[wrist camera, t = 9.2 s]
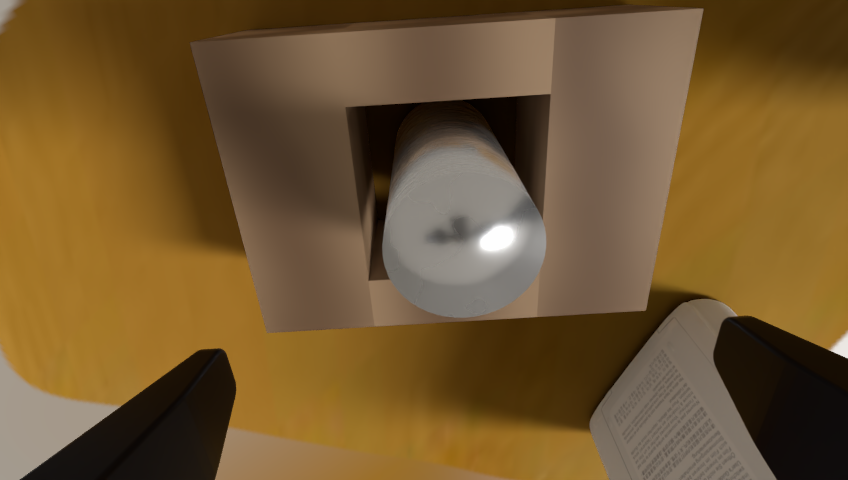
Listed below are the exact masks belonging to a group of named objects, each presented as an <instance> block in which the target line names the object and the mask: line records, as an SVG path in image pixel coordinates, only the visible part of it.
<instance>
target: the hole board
mask: <svg viewBox="0 0 848 480" xmlns="http://www.w3.org/2000/svg"><path fill="white" fill-rule="evenodd" d="M703 10H704V8H687V7H667V6H646V5H617V6H602V7H587V8H572V9H557V10H542V11H527V12H511V13H496V14H481V15H466V16H451V17H436V18H421V19H406V20H391V21H376V22H361V23H346V24H331V25H316V26H301V27H286V28H271V29H256V30H245V31H240V32H236V33H231V34H226V35H222V36H217V37H212V38H208V39H203V40H198V41H194V42H190V46H191V49H192V53H193V57H194V61H195V64H196V68H197V72H198V76H199V79H200V83H201V87H202V91H203V94H204V98H205V102H206V106H207V109H208V113H209V117H210V121H211V124H212V128H213V132H214V136H215V139H216V143H217V147H218V151H219V154H220V158H221V162H222V166H223V169H224V173H225V177H226V181H227V184H228V188H229V192H230V196H231V199H232V203H233V207H234V211H235V214H236V218H237V222H238V226H239V229H240V233H241V237H242V241H243V244H244V248H245V252H246V256H247V259H248V263H249V267H250V271H251V274H252V278H253V282H254V286H255V289H256V293H257V297H258V301H259V304H260V308H261V312H262V316H263V319H264V323H265V327H266V331H267V333H274V332H291V331H308V330H325V329H342V328H359V327H376V326H393V325H410V324H427V323H444V322H461V321H478V320H495V319H512V318H528V317H545V316H562V315H579V314H596V313H613V312H630V311H646V307H647V302H648V297H649V291H650V286H651V281H652V276H653V271H654V265H655V260H656V255H657V250H658V244H659V239H660V234H661V229H662V224H663V218H664V213H665V208H666V203H667V197H668V192H669V187H670V182H671V177H672V171H673V166H674V161H675V156H676V150H677V145H678V140H679V135H680V130H681V124H682V119H683V114H684V109H685V104H686V98H687V93H688V88H689V83H690V77H691V72H692V67H693V62H694V57H695V51H696V46H697V41H698V36H699V30H700V25H701V20H702V15H703ZM511 96H517V105H516V138H515V171H516V173H517V175H518V177H519V178H520V180H521V182H522V184H523V185H524V187H525V189H526V190H527V192H528V194H529V196H530V197H531V199H532V201H533V203H534V204H535V206H536V208H537V210H538V212H539V213H540V215H541V217H542V220H543V223H544V227H545V232H546V251H545V257H544V260H543V264H542V266H541V269H540V271H539V273H538V275H537V276H536V278H535V280H534V281H533V283H532V284H531V285H530V286H529V288H528V289H527V290H526V291H525V292H524V293H523V294H522V295H521V296H519V297H518V298H517V299H516V300H514V301H513V302H511V303H510V304H508V305H506V306H505V307H503V308H501V309H499V310H496V311H494V312H491V313H488V314H485V315H480V316H476V317H467V318H454V317H445V316H441V315H436V314H433V313H430V312H427V311H425V310H423V309H421V308H419V307H417V306H416V305H414V304H412V303H411V302H410V301H408V300H407V299H406V298H405V297H403V295H402V294H401V293H400V292H399V291H398V290H397V289H396V288H395V286H394V285H393V283H392V282H391V280H390V278H389V276H388V274H387V271H386V269H385V266H384V261H383V254H382V244H383V235H384V227H385V220H378V215H377V206H376V197H375V188H374V180H373V171H372V162H371V154H370V145H369V136H368V128H367V119H366V110H365V106H371V105H387V104H402V103H418V102H433V101H449V100H464V99H480V98H495V97H511Z"/></svg>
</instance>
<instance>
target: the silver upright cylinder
mask: <svg viewBox="0 0 848 480" xmlns="http://www.w3.org/2000/svg"><path fill="white" fill-rule="evenodd" d="M545 251H546V232H545V227H544V223H543V220H542V217H541V215H540V213H539V212H538V210H537V208H536V206H535V204H534V203H533V201H532V199H531V197H530V196H529V194H528V192H527V190H526V189H525V187H524V185H523V184H522V182H521V180H520V178H519V177H518V175H517V173H516V171H515V170H514V168H513V166H512V165H511V163H510V161H509V159H508V158H507V156H506V154H505V152H504V151H503V149H502V147H501V145H500V144H499V142H498V140H497V139H496V137H495V135H494V133H493V132H492V130H491V128H490V126H489V125H488V123H487V121H486V120H485V118H484V117H483V115H482V114H481V113H480V112H479V111H478V110H477V109H476V108H474V107H473V106H472V105H470V104H468V103H466V102H464V101H462V100H449V101H433V102H424V103H422V104H420V105H418V106H417V107H415V108H414V109H413V110H412V111H411V112H410V113H409V114H408V115H407V116H406V117H405V119H404V120H403V122H402V124H401V125H400V128H399V130H398V133H397V137H396V144H395V152H394V159H393V167H392V174H391V182H390V190H389V197H388V205H387V212H386V220H385V227H384V235H383V244H382V254H383V261H384V266H385V269H386V271H387V274H388V276H389V278H390V280H391V282H392V283H393V285H394V286H395V288H396V289H397V290H398V291H399V292H400V293H401V294H402V295H403V297H405V298H406V299H407V300H408V301H410V302H411V303H412V304H414V305H416V306H417V307H419V308H421V309H423V310H425V311H427V312H430V313H433V314H436V315H441V316H445V317H454V318H467V317H476V316H480V315H485V314H488V313H491V312H494V311H496V310H499V309H501V308H503V307H505V306H506V305H508V304H510V303H511V302H513V301H514V300H516V299H517V298H518V297H519V296H521V295H522V294H523V293H524V292H525V291H526V290H527V289H528V288H529V286H530V285H531V284H532V283H533V281H534V280H535V278H536V276H537V275H538V273H539V271H540V269H541V266H542V264H543V260H544V257H545Z"/></svg>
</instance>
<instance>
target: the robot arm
mask: <svg viewBox="0 0 848 480" xmlns="http://www.w3.org/2000/svg"><path fill="white" fill-rule="evenodd" d="M713 361H714V364H715V367H716V369H717V371H718V373H719V375H720V377H721V379H722V381H723V383H724V385H725V387H726V389H727V391H728V393H729V395H730V397H731V399H732V401H733V403H734V405H735V407H736V409H737V411H738V413H739V415H740V417H741V419H742V421H743V423H744V425H745V427H746V429H747V431H748V433H749V435H750V436H751V438H752V440H753V442H754V444H755V446H756V447H757V449H758V451H759V452H760V454H761V456H762V457H763V459H764V460H765V462H766V464H767V465H768V467H769V468H770V470H771V472H772V473H773V475H774V476H775V478H776V479H777V480H848V359H847V358H845V357H843V356H840V355H838V354H836V353H834V352H832V351H829V350H827V349H825V348H823V347H820V346H818V345H816V344H813V343H811V342H809V341H807V340H804V339H802V338H800V337H798V336H795V335H793V334H791V333H789V332H786V331H784V330H782V329H780V328H777V327H775V326H773V325H770V324H768V323H766V322H764V321H761V320H759V319H757V318H755V317H752V316H733V317H727V318H725V319H724V320H723V321H722V323H721V326H720V330H719V333H718V337H717V340H716V344H715V347H714V351H713ZM235 395H236V382H235V379H234V376H233V373H232V370H231V366H230V363H229V360H228V357H227V355H226V352H225V351H224V350H222V349H219V348H218V349H203V350H199V351H197V352H196V353H194V354H193V355H191V356H190V357H189V358H187V359H186V360H184V361H183V362H182V363H180V364H179V365H178V366H176V367H175V368H173V369H172V370H171V371H169V372H168V373H167V374H165V375H164V376H162V377H161V378H160V379H158V380H157V381H155V382H154V383H153V384H151V385H150V386H149V387H147V388H146V389H144V390H143V391H142V392H140V393H139V394H138V395H136V396H135V397H133V398H132V399H131V400H129V401H128V402H126V403H125V404H124V405H122V406H121V407H120V408H118V409H117V410H115V411H114V412H113V413H111V414H110V415H109V416H107V417H106V418H104V419H103V420H102V421H100V422H99V423H98V424H96V425H95V426H94V427H92V428H91V429H89V430H88V431H86V432H85V433H84V434H82V435H81V436H80V437H78V438H77V439H75V440H74V441H73V442H71V443H70V444H68V445H67V446H66V447H64V448H63V449H62V450H60V451H59V452H57V453H56V454H55V455H53V456H52V457H50V458H49V459H48V460H46V461H45V462H44V463H42V464H41V465H39V466H38V467H37V468H35V469H34V470H32V471H31V472H30V473H28V474H27V475H26V476H24V477H23V478H21V479H20V480H215V477H216V474H217V470H218V466H219V463H220V458H221V454H222V450H223V446H224V442H225V438H226V433H227V429H228V425H229V421H230V417H231V413H232V408H233V404H234V400H235Z"/></svg>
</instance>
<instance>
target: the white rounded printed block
mask: <svg viewBox="0 0 848 480" xmlns="http://www.w3.org/2000/svg"><path fill="white" fill-rule="evenodd" d="M733 316H737V315H736V314H735V313H734V312H733V311H732V309H731V308H729V307H728V306H727V305H725V304H724V303H722V302H719V301H716V300H711V299H696V300H691V301H689V302H688V303H687V302H684V303H682V304H681V305H679V306H678V307H677V308H676V309H675V310H674V311H673V312H672V313H671V314H670V315H669V316H668V317H667V318H666V319H665V320H664V322H663V323H662V324H661V325H660V326H659V327H658V329H657V330H656V331H655V332H654V334H653V335H652V336H651V338H650V339H649V340H648V341H647V343H646V344H645V345H644V346H643V348H642V349H641V350H640V352H639V353H638V354H637V355H636V357H635V358H634V359H633V360H632V362H631V363H630V364H629V366H628V367H627V368H626V370H625V371H624V372H623V373H622V375H621V376H620V377H619V379H618V380H617V381H616V383H615V384H614V385H613V387H612V388H611V389H610V390H609V391H608V393H607V394H606V396H605V397H604V399H603V400H602V401H601V403H600V404H599V406H598V407H597V409H596V410H595V412H594V414H593V415H592V417H591V420H590V426H589V427H590V431H591V434H592V437H593V440H594V442H595V445H596V447H597V450H598V452H599V455H600V457H601V460H602V462H603V465H604V467H605V470H606V472H607V475H608V477H609V480H777V479H776V478H775V476H774V475H773V473H772V472H771V470H770V468H769V467H768V465H767V464H766V462H765V460H764V459H763V457H762V456H761V454H760V452H759V451H758V449H757V447H756V446H755V444H754V442H753V440H752V438H751V436H750V435H749V433H748V431H747V429H746V427H745V425H744V423H743V421H742V419H741V417H740V415H739V413H738V411H737V409H736V407H735V405H734V403H733V401H732V399H731V397H730V395H729V393H728V391H727V389H726V387H725V385H724V383H723V381H722V379H721V377H720V375H719V373H718V371H717V369H716V367H715V364H714V361H713V351H714V347H715V344H716V340H717V337H718V333H719V330H720V326H721V323H722V321H723V320H724V319H725V318H727V317H733Z"/></svg>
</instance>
